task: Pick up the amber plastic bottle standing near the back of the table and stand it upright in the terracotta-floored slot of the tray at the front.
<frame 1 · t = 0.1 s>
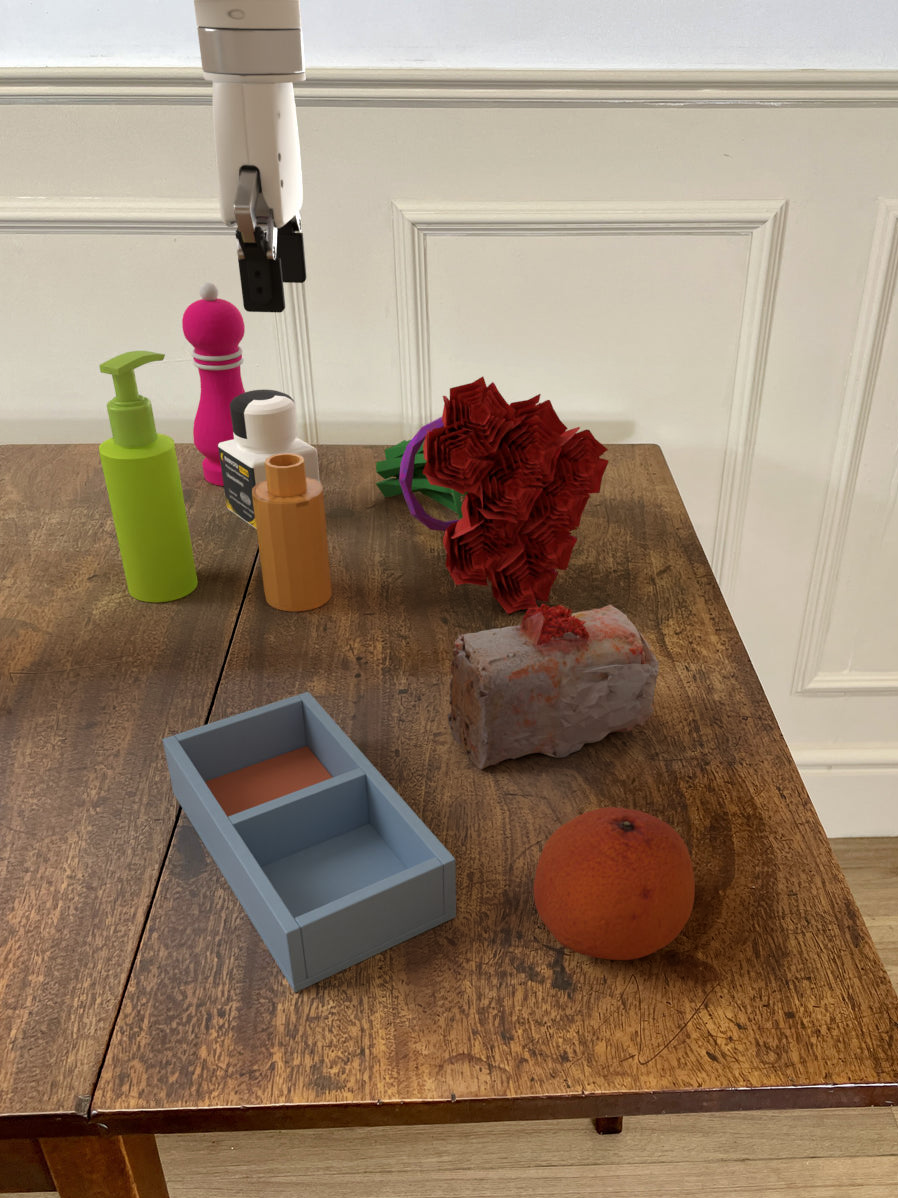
hand: (277, 295, 87), 23 cm above the table, tool pointing down, fingers open, 9 cm apart
food item: (549, 734, 75), on the table
bouquet: (456, 543, 100), on the table
pepper mill: (234, 477, 112), on the table
tray: (305, 851, 64), on the table
bottle: (298, 595, 91), on the table
medicine bottle: (274, 514, 105), on the table
fruit: (607, 928, 60), on the table
soap dispenser: (167, 585, 92), on the table
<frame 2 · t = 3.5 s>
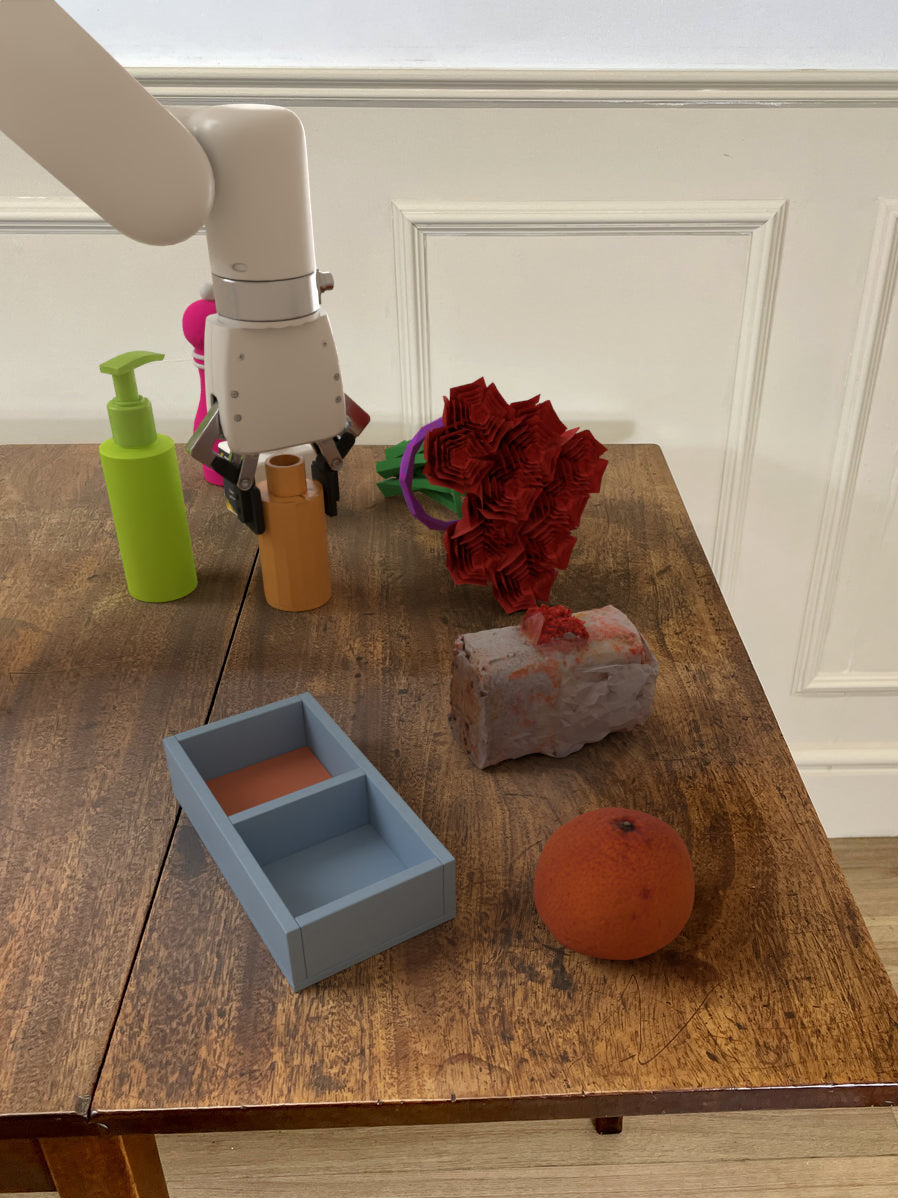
hand: (290, 517, 87), 7 cm above the table, tool pointing down, fingers closed on bottle, 5 cm apart
bottle: (298, 595, 91), on the table, touching gripper
everything else where it was.
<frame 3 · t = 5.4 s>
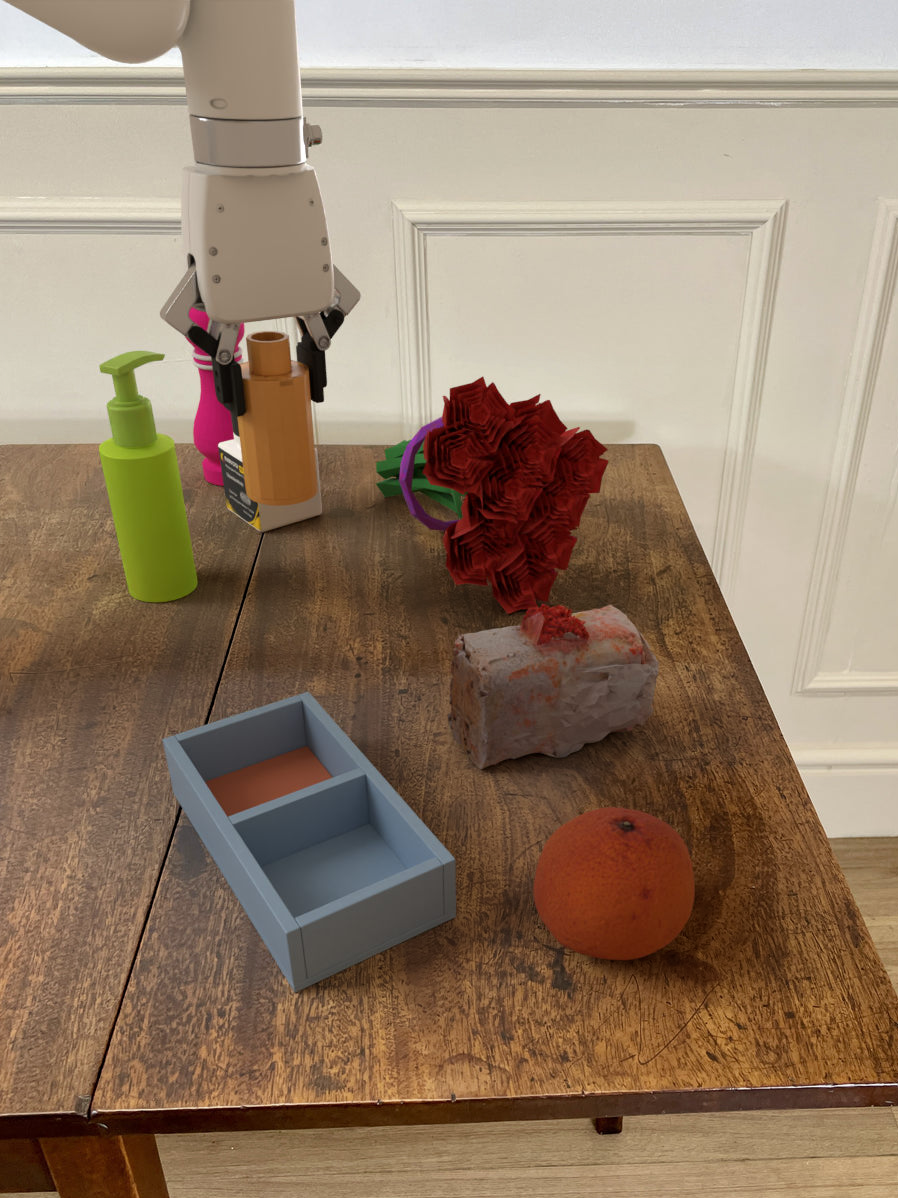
hand: (273, 402, 81), 17 cm above the table, tool pointing down, fingers closed on bottle, 5 cm apart
bottle: (282, 491, 85), point 10 cm above the table, touching gripper
everything else where it was.
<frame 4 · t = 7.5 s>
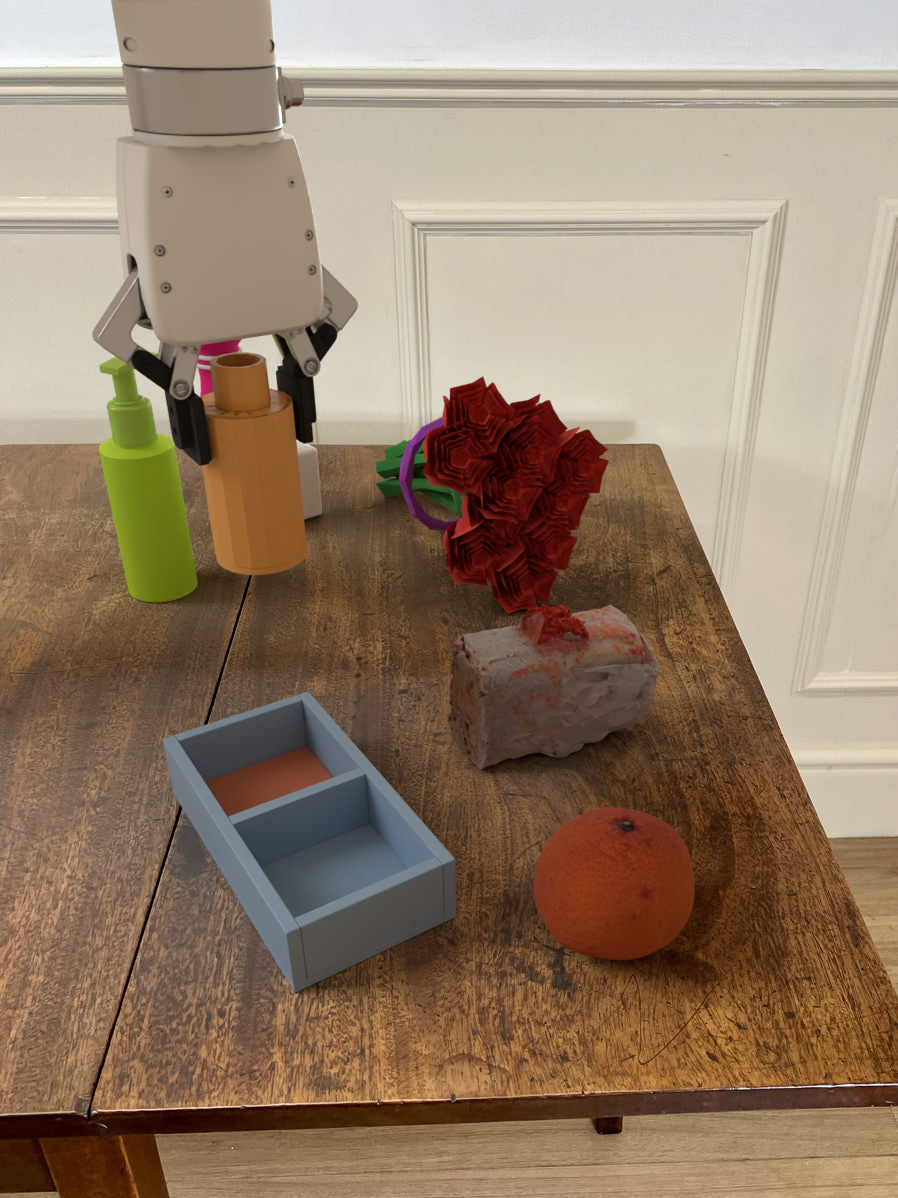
hand: (248, 444, 63), 22 cm above the table, tool pointing down, fingers closed on bottle, 5 cm apart
bottle: (262, 554, 67), point 14 cm above the table, touching gripper
everything else where it was.
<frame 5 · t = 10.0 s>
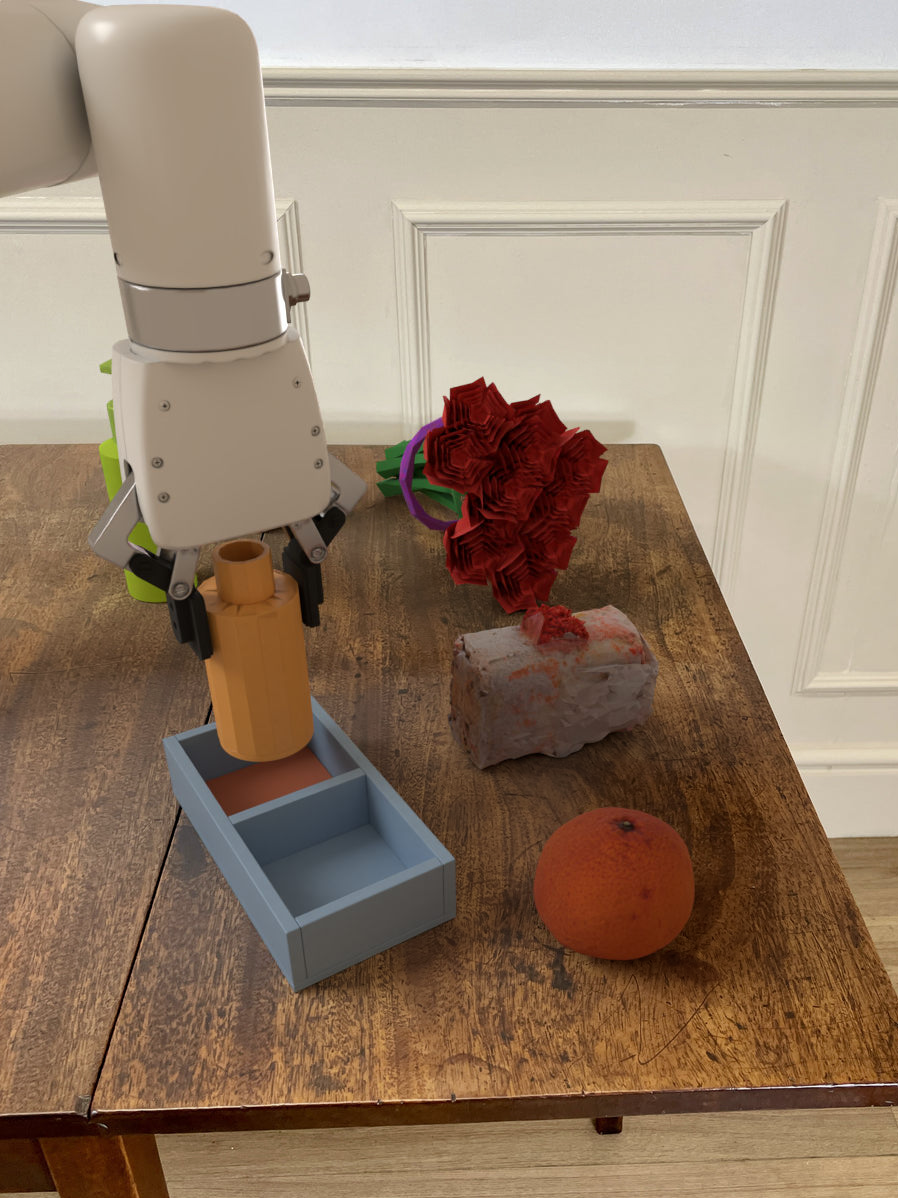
hand: (252, 630, 60), 14 cm above the table, tool pointing down, fingers closed on bottle, 5 cm apart
bottle: (267, 733, 64), point 6 cm above the table, touching gripper
everything else where it was.
when the fingers open (8 cm above the table, at t = 11.8 s): bottle stays where it is, resting on tray.
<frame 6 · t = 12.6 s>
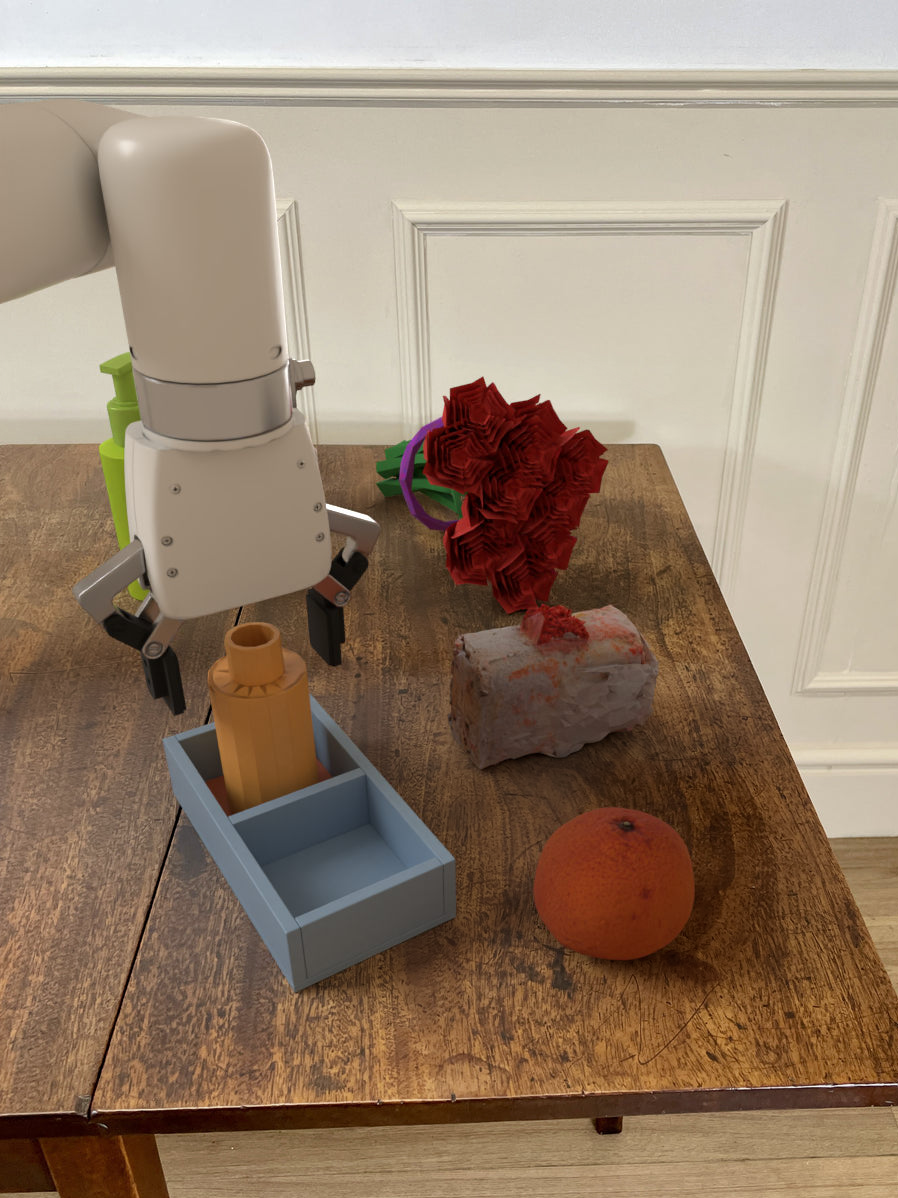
hand: (251, 678, 62), 10 cm above the table, tool pointing down, fingers open, 9 cm apart
bottle: (275, 800, 67), point 1 cm above the table, touching tray
everything else where it was.
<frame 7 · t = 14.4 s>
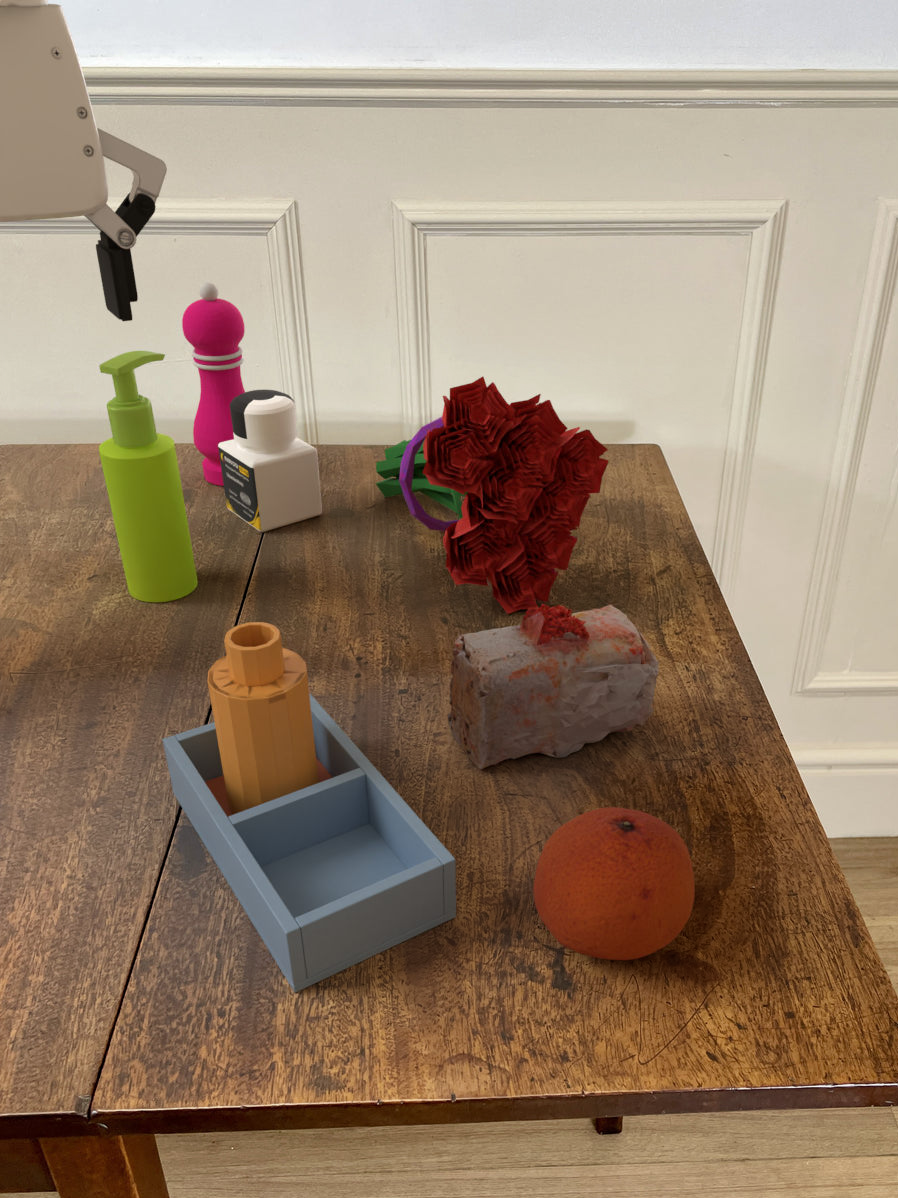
hand: (35, 324, 60), 28 cm above the table, tool pointing down, fingers open, 9 cm apart
nothing on the table moved.
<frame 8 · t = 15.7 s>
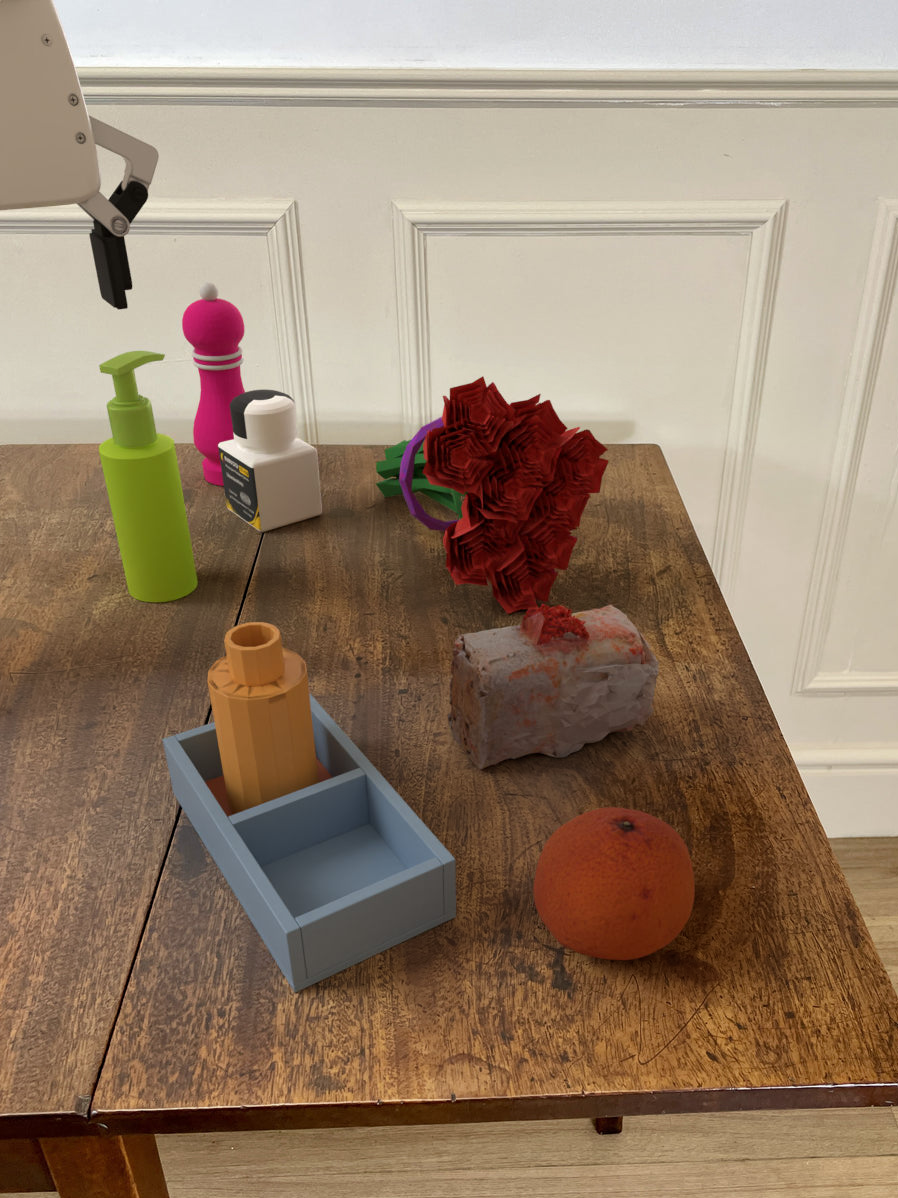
hand: (31, 314, 60), 28 cm above the table, tool pointing down, fingers open, 9 cm apart
nothing on the table moved.
at the end: bottle 0.1 cm from the target spot in the tray, point 0.8 cm above the tray's base; bottle tilted 0°; the gripper is holding nothing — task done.
